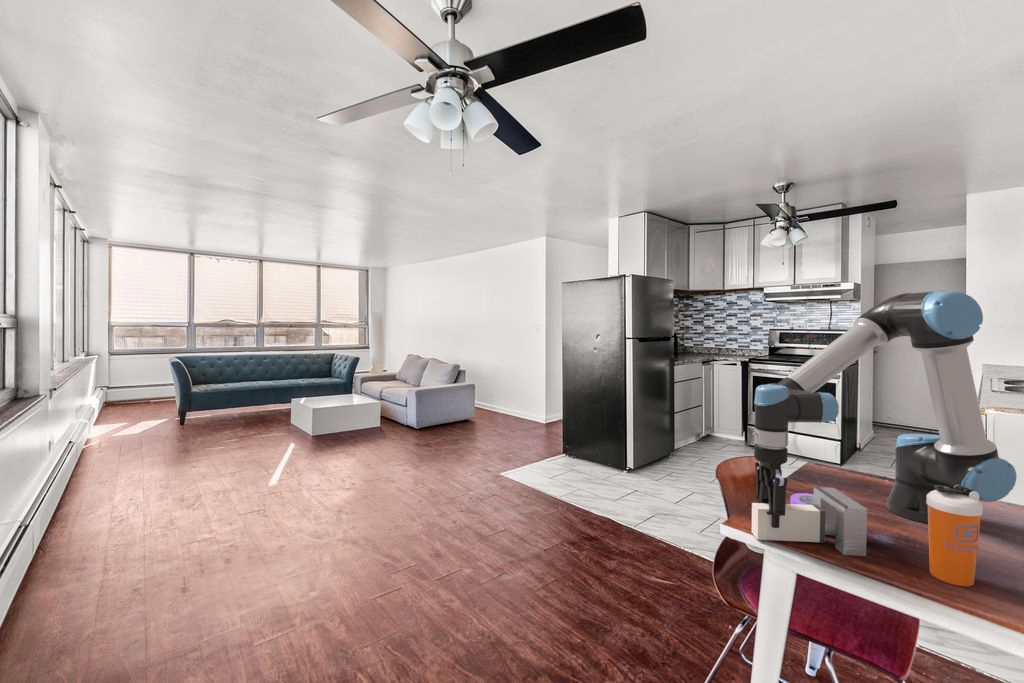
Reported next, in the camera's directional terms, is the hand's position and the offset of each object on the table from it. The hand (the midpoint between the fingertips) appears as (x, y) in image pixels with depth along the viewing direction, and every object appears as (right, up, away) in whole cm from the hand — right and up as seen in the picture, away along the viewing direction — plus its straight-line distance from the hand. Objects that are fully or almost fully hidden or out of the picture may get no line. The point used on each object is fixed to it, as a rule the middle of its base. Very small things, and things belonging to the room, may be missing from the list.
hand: (769, 534), depth 120 cm
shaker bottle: (+30, -2, -19) cm, 35 cm away
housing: (+16, -1, -2) cm, 17 cm away
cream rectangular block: (+4, -1, 0) cm, 4 cm away
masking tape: (+22, -1, +16) cm, 27 cm away
